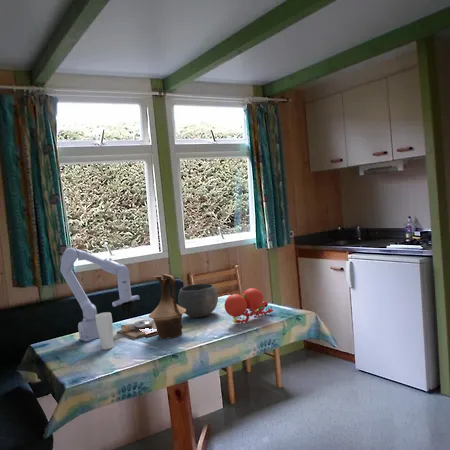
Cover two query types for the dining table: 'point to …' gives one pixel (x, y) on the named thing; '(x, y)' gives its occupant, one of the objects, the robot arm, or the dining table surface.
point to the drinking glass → (105, 330)
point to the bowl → (198, 299)
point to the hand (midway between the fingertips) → (128, 317)
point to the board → (136, 332)
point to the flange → (138, 325)
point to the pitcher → (167, 310)
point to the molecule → (246, 305)
